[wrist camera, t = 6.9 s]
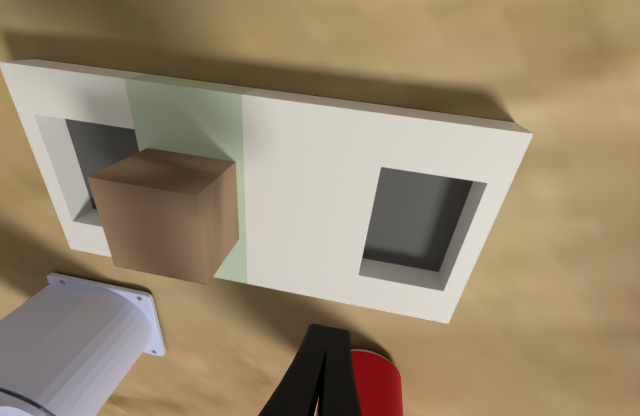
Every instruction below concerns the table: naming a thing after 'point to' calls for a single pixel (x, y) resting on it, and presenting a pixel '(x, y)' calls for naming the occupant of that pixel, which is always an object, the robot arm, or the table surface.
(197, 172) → the block
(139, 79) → the trap board
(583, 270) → the table surface
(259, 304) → the table surface
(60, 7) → the table surface
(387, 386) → the beverage can
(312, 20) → the table surface
